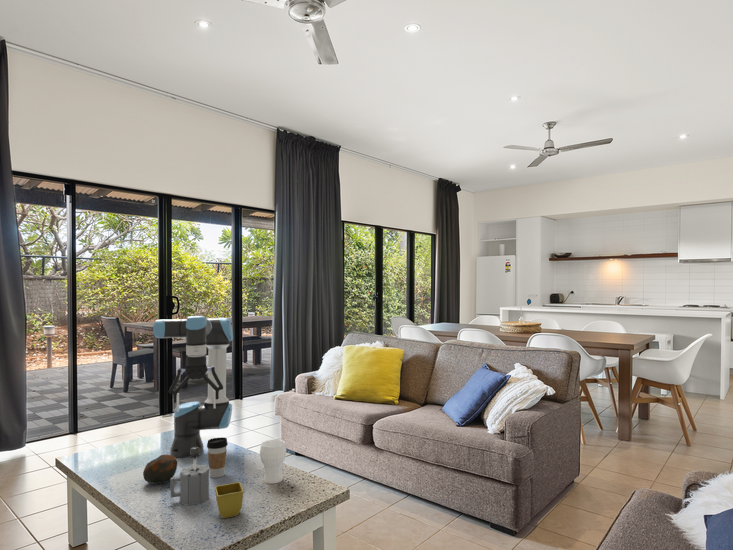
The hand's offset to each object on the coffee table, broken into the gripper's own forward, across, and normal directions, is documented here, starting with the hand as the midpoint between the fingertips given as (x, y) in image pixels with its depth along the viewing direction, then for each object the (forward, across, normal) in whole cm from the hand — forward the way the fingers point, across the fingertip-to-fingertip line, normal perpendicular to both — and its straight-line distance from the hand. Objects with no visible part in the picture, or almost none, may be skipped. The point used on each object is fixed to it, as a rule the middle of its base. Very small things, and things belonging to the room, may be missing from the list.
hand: (196, 409), depth 183 cm
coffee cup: (+32, +8, +12) cm, 35 cm away
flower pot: (+31, +12, -26) cm, 42 cm away
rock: (+32, -14, +12) cm, 37 cm away
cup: (+32, +30, -1) cm, 44 cm away
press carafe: (+31, -2, -9) cm, 33 cm away
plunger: (+29, 0, -9) cm, 30 cm away
